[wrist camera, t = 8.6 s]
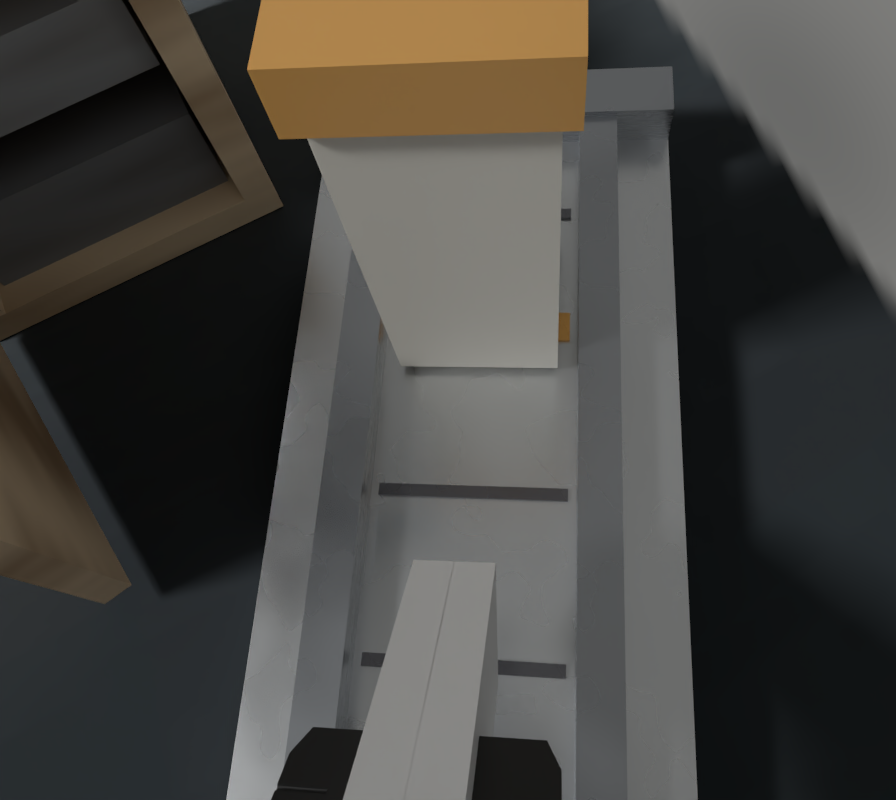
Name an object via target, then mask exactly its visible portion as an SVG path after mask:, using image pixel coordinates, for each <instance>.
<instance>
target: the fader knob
mask: <svg viewBox="0 0 896 800" xmlns="http://www.w3.org/2000/svg"><path fill="white" fill-rule="evenodd" d="M587 66H588V0H261V4H260V9H259V14H258V19H257V24H256V29H255V33H254V38H253V43H252V48H251V53H250V57H249V62H248V67H247V71H248V73H249V76H250V78H251V80H252V82H253V84H254V86H255V89H256V91H257V93H258V95H259V97H260V99H261V102H262V104H263V106H264V108H265V110H266V112H267V115H268V117H269V119H270V121H271V123H272V125H273V128H274V130H275V132H276V134H277V136H278V138H279V139H307V140H308V142H309V145H310V147H311V150H312V152H313V155H314V157H315V159H316V162H317V164H318V167H319V169H320V172H321V174H322V176H323V179H324V181H325V184H326V186H327V188H328V191H329V193H330V196H331V198H332V201H333V203H334V205H335V208H336V210H337V213H338V215H339V218H340V220H341V222H342V225H343V227H344V230H345V232H346V234H347V237H348V239H349V242H350V244H351V247H352V249H353V251H354V254H355V256H356V259H357V261H358V264H359V266H360V268H361V271H362V273H363V276H364V278H365V280H366V283H367V285H368V288H369V290H370V293H371V295H372V297H373V300H374V302H375V305H376V307H377V310H378V312H379V314H380V317H381V319H382V322H383V324H384V326H385V329H386V331H387V334H388V336H389V339H390V341H391V343H392V346H393V348H394V351H395V353H396V356H397V358H398V360H399V363H400V365H401V366H419V367H501V368H558V324H559V279H560V235H561V190H562V145H563V132H566V131H584V118H585V101H586V84H587Z"/></svg>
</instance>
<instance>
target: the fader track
mask: <svg viewBox="0 0 896 800" xmlns="http://www.w3.org/2000/svg"><path fill="white" fill-rule="evenodd" d="M673 113H674V95H673V75H672V66H671V67H644V68H617V69H591V70H587V84H586V101H585V118H584V131H566V132H563V145H562V190H561V235H560V279H559V324H558V368H501V367H419V366H401V365H400V363H399V360H398V358H397V356H396V353H395V351H394V348H393V346H392V343H391V341H390V339H389V336H388V334H387V331H386V329H385V326H384V324H383V322H382V319H381V317H380V314H379V312H378V310H377V307H376V305H375V302H374V300H373V297H372V295H371V293H370V290H369V288H368V285H367V283H366V280H365V278H364V276H363V273H362V271H361V268H360V266H359V264H358V261H357V259H356V256H355V254H354V251H353V249H352V247H351V244H350V242H349V239H348V237H347V234H346V232H345V230H344V227H343V225H342V222H341V220H340V218H339V215H338V213H337V210H336V208H335V205H334V203H333V201H332V198H331V196H330V193H329V191H328V188H327V186H326V184H325V181H324V179H323V176H322V177H321V184H320V190H319V197H318V203H317V210H316V216H315V223H314V229H313V236H312V242H311V249H310V256H309V262H308V269H307V275H306V282H305V288H304V295H303V301H302V308H301V314H300V321H299V328H298V334H297V341H296V347H295V354H294V360H293V367H292V373H291V380H290V386H289V393H288V400H287V406H286V413H285V419H284V426H283V432H282V439H281V445H280V452H279V458H278V465H277V472H276V478H275V485H274V491H273V498H272V504H271V511H270V517H269V524H268V530H267V537H266V543H265V550H264V557H263V563H262V570H261V576H260V583H259V589H258V596H257V602H256V609H255V615H254V622H253V629H252V635H251V642H250V648H249V655H248V661H247V668H246V674H245V681H244V687H243V694H242V701H241V707H240V714H239V720H238V727H237V733H236V740H235V746H234V753H233V759H232V766H231V773H230V779H229V786H228V792H227V799H226V800H271V799H272V796H273V793H274V791H275V790H277V783H278V781H279V778H280V776H281V773H282V771H283V768H284V765H285V763H286V760H287V758H288V755H289V753H290V752H291V751H292V749H293V748H294V747H295V746H296V745H297V744H298V743H299V742H300V741H301V740H302V739H303V737H304V736H305V735H306V734H307V733H308V732H309V731H310V730H311V729H312V728H313V727H323V728H338V729H353V730H363V729H364V726H365V723H366V719H367V716H368V712H369V709H370V706H371V702H372V699H373V695H374V692H375V689H376V685H377V682H378V679H379V675H380V672H381V668H382V665H383V662H384V658H385V655H386V651H387V648H388V645H389V641H390V638H391V634H392V631H393V628H394V624H395V621H396V617H397V614H398V611H399V607H400V604H401V600H402V597H403V594H404V590H405V587H406V583H407V580H408V577H409V573H410V570H411V566H412V563H413V560H434V561H460V562H487V563H496V602H497V647H498V691H497V701H496V711H495V721H494V731H493V737H503V738H518V739H533V740H547V741H548V743H549V745H550V747H551V749H552V752H553V754H554V756H555V758H556V760H557V762H558V764H559V766H560V768H561V770H562V800H698V794H697V772H696V749H695V727H694V705H693V683H692V660H691V638H690V616H689V594H688V571H687V549H686V527H685V504H684V482H683V460H682V438H681V415H680V393H679V371H678V349H677V326H676V304H675V282H674V259H673V237H672V215H671V193H670V170H669V148H668V138H669V133H670V128H671V123H672V118H673Z"/></svg>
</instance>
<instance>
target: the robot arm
mask: <svg viewBox="0 0 896 800" xmlns="http://www.w3.org/2000/svg"><path fill="white" fill-rule="evenodd" d="M497 691H498V647H497V602H496V563H487V562H460V561H434V560H413V563H412V566H411V570H410V573H409V577H408V580H407V583H406V587H405V590H404V594H403V597H402V600H401V604H400V607H399V611H398V614H397V617H396V621H395V624H394V628H393V631H392V634H391V638H390V641H389V645H388V648H387V651H386V655H385V658H384V662H383V665H382V668H381V672H380V675H379V679H378V682H377V685H376V689H375V692H374V695H373V699H372V702H371V706H370V709H369V712H368V716H367V719H366V723H365V726H364V729H363V730H353V729H338V728H323V727H313V728H312V729H311V730H310V731H309V732H308V733H307V734H306V735H305V736H304V737H303V739H302V740H301V741H300V742H299V743H298V744H297V745H296V746H295V747H294V748H293V749H292V751H291V752H290V753H289V755H288V758H287V760H286V763H285V765H284V768H283V771H282V773H281V776H280V778H279V781H278V783H277V790H275V791H274V793H273V796H272V799H271V800H562V770H561V768H560V766H559V764H558V762H557V760H556V758H555V756H554V754H553V752H552V749H551V747H550V745H549V743H548V741H547V740H533V739H518V738H503V737H493V731H494V721H495V711H496V701H497Z"/></svg>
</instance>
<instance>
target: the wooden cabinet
mask: <svg viewBox="0 0 896 800" xmlns="http://www.w3.org/2000/svg"><path fill="white" fill-rule="evenodd" d="M280 207H283V204H282V202H281V200H280V198H279V196H278V194H277V192H276V190H275V188H274V186H273V184H272V182H271V180H270V178H269V176H268V174H267V172H266V170H265V168H264V166H263V164H262V162H261V160H260V158H259V156H258V154H257V152H256V150H255V148H254V146H253V144H252V142H251V140H250V138H249V136H248V134H247V132H246V130H245V128H244V126H243V124H242V122H241V120H240V118H239V116H238V114H237V112H236V110H235V108H234V106H233V104H232V102H231V100H230V98H229V96H228V94H227V92H226V90H225V88H224V86H223V84H222V82H221V80H220V78H219V76H218V74H217V72H216V70H215V68H214V66H213V64H212V62H211V60H210V58H209V56H208V54H207V52H206V50H205V48H204V46H203V43H202V41H201V39H200V37H199V35H198V33H197V31H196V29H195V27H194V25H193V23H192V21H191V19H190V17H189V15H188V13H187V11H186V10H185V8H184V6H183V4H182V2H181V0H0V341H1V340H3V339H5V338H7V337H9V336H11V335H13V334H16V333H18V332H20V331H22V330H24V329H26V328H28V327H30V326H32V325H34V324H37V323H39V322H41V321H43V320H45V319H47V318H49V317H51V316H53V315H55V314H58V313H60V312H62V311H64V310H66V309H68V308H70V307H72V306H74V305H77V304H79V303H81V302H83V301H85V300H87V299H89V298H91V297H93V296H95V295H98V294H100V293H102V292H104V291H106V290H108V289H110V288H112V287H114V286H116V285H119V284H121V283H123V282H125V281H127V280H129V279H131V278H133V277H135V276H137V275H140V274H142V273H144V272H146V271H148V270H150V269H152V268H154V267H156V266H159V265H161V264H163V263H165V262H167V261H169V260H171V259H173V258H175V257H177V256H180V255H182V254H184V253H186V252H188V251H190V250H192V249H194V248H196V247H198V246H201V245H203V244H205V243H207V242H209V241H211V240H213V239H215V238H217V237H220V236H222V235H224V234H226V233H228V232H230V231H232V230H234V229H236V228H238V227H241V226H243V225H245V224H247V223H249V222H251V221H253V220H255V219H257V218H259V217H262V216H264V215H266V214H268V213H270V212H272V211H274V210H276V209H278V208H280ZM0 575H1V576H5V577H9V578H12V579H16V580H20V581H23V582H27V583H30V584H34V585H38V586H41V587H45V588H49V589H52V590H56V591H60V592H63V593H67V594H71V595H74V596H78V597H81V598H85V599H89V600H92V601H96V602H100V603H103V604H105V603H107V602H108V601H110V600H111V599H112V598H114V597H115V596H117V595H118V594H119V593H121V592H122V591H124V590H125V589H126V588H128V587H129V586H131V583H130V581H129V579H128V577H127V576H126V574H125V572H124V570H123V568H122V566H121V564H120V563H119V561H118V559H117V557H116V555H115V553H114V552H113V550H112V548H111V546H110V544H109V542H108V541H107V539H106V537H105V535H104V533H103V531H102V530H101V528H100V526H99V524H98V522H97V520H96V518H95V517H94V515H93V513H92V511H91V509H90V507H89V506H88V504H87V502H86V500H85V498H84V496H83V495H82V493H81V491H80V489H79V487H78V485H77V484H76V482H75V480H74V478H73V476H72V474H71V472H70V471H69V469H68V467H67V465H66V463H65V461H64V460H63V458H62V456H61V454H60V452H59V450H58V449H57V447H56V445H55V443H54V441H53V439H52V438H51V436H50V434H49V432H48V430H47V428H46V427H45V425H44V423H43V421H42V419H41V417H40V415H39V414H38V412H37V410H36V408H35V406H34V404H33V403H32V401H31V399H30V397H29V395H28V393H27V392H26V390H25V388H24V386H23V384H22V382H21V381H20V379H19V377H18V375H17V373H16V371H15V369H14V368H13V366H12V364H11V362H10V360H9V358H8V357H7V355H6V353H5V351H4V349H3V347H2V346H1V344H0Z"/></svg>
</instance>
